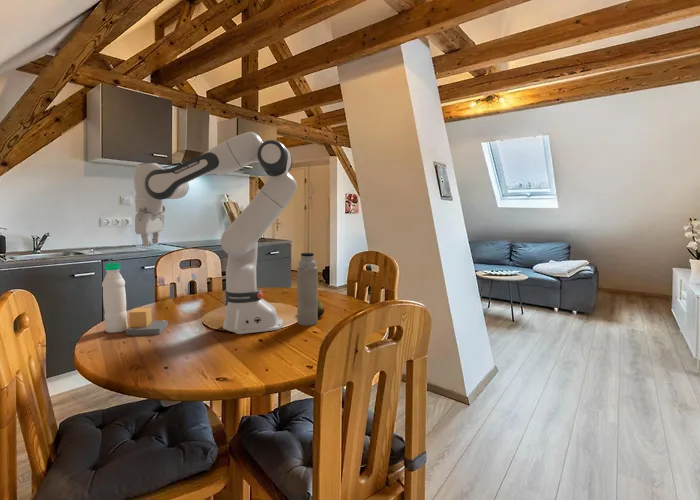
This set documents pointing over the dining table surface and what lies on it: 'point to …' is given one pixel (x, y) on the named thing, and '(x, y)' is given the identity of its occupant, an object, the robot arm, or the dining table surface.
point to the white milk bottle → (114, 299)
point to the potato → (320, 308)
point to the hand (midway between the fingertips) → (151, 244)
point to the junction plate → (148, 328)
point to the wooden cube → (140, 317)
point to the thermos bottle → (307, 290)
